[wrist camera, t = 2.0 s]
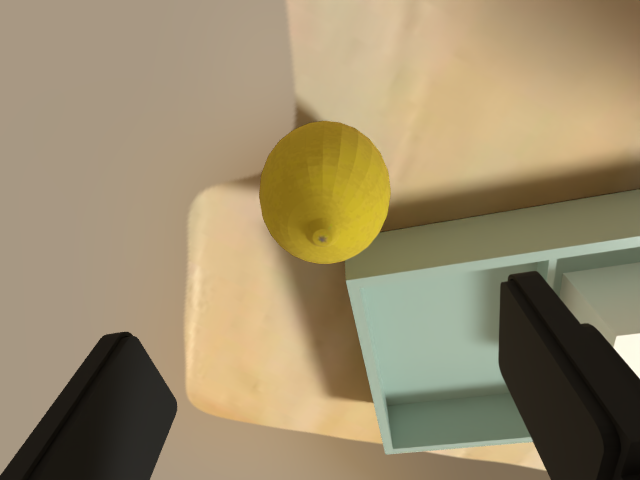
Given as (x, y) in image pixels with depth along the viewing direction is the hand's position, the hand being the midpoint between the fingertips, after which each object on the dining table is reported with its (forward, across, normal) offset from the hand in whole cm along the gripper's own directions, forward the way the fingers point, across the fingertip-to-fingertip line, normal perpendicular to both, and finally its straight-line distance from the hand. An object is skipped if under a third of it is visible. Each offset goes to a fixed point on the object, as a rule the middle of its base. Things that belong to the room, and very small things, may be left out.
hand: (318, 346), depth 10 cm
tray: (+12, -11, +12) cm, 21 cm away
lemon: (+12, 0, -1) cm, 12 cm away
